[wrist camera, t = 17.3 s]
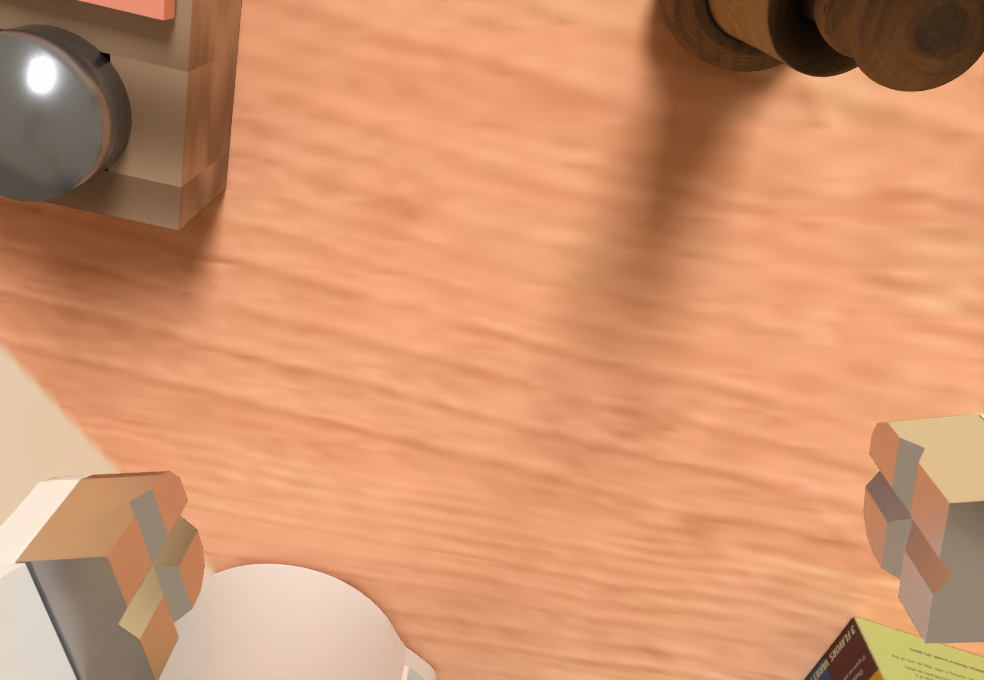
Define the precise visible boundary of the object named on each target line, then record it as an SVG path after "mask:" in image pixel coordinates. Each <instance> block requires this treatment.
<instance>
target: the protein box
mask: <svg viewBox="0 0 984 680" xmlns="http://www.w3.org/2000/svg"><path fill="white" fill-rule="evenodd" d="M806 680H984V657H981V656H977V655H974V654H971V653H968V652H965V651H962V650H958V649H955V648H952V647H949V646H946V645H943V644H940V643H925V642H924V641H923V639H922V638H921V637H918V636H915V635H911V634H908V633H905V632H902V631H899V630H896V629H893V628H889V627H886V626H883V625H880V624H877V623H874V622H871V621H868V620H864V619H861V618H858V617H854V618H853V620H852V621H851V622H850V624H849V625H848V627H847V628H846V629H845V630H844V632H843V633H842V634H841V635H840V637H839V638H838V639H837V641H836V642H835V643H834V644H833V646H832V647H831V648H830V650H829V651H828V652H827V654H826V655H825V656H824V657H823V658H822V660H821V661H820V662H819V663H818V665H817V666H816V667H815V669H814V670H813V671H812V673H811V674H810V675H809V676H808V678H807V679H806Z"/></svg>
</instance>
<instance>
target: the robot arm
mask: <svg viewBox="0 0 984 680" xmlns="http://www.w3.org/2000/svg"><path fill="white" fill-rule="evenodd" d="M869 454H870V456H871V457H872V459H873V460H874V462H875V464H876V465H877V467H878V468H879V470H880V471H879V472H878V474H877V475H876V476H875V477H874V478H873V479H872V480H871V481H870V482H869V483H868V484H867V485H866V487H865V498H864V519H865V526H866V533H867V537H868V540H869V543H870V546H871V549H872V551H873V553H874V555H875V557H876V559H877V561H878V563H879V564H880V566H881V568H882V569H884V570H886V571H887V572H889V573H891V574H892V575H894V576H896V577H897V578H899V579H901V581H900V588H899V595H898V598H899V599H900V601H901V603H902V605H903V606H904V608H905V610H906V611H907V613H908V615H909V617H910V618H911V620H912V622H913V623H914V625H915V627H916V629H917V630H918V632H919V634H920V635H921V637H922V639H923V641H924V642H925V643H961V642H984V412H983V413H973V414H969V415H958V416H947V417H936V418H925V419H914V420H903V421H892V422H881V423H877V424H876V427H875V429H874V431H873V434H872V438H871V445H870V453H869ZM187 501H188V499H187V496H186V493H185V491H184V488H183V485H182V483H181V480H180V477H178V476H177V475H175V474H174V473H172V472H171V471H161V472H141V473H120V474H100V475H91V476H87V475H79V476H67V477H55V478H50V479H47V480H43V481H41V482H39V484H38V485H37V486H36V487H35V488H34V489H33V490H32V492H31V493H30V494H29V495H28V496H27V497H26V498H25V500H24V501H23V502H22V503H21V504H20V505H19V506H18V508H17V509H16V510H15V511H14V512H13V513H12V515H11V516H10V517H9V518H8V519H7V520H6V521H5V522H4V524H3V525H2V526H1V527H0V680H437V675H436V672H435V671H434V669H433V668H432V667H431V666H430V665H429V664H428V663H427V662H425V661H424V660H423V659H422V658H420V657H419V656H418V655H416V654H415V653H414V652H412V651H411V650H409V649H408V648H407V647H406V646H405V645H404V644H403V642H402V641H401V639H400V638H399V636H398V635H397V633H396V631H395V629H394V628H393V626H392V624H391V623H390V621H389V620H388V618H387V617H386V616H385V614H384V613H383V612H382V611H381V610H380V609H379V608H378V607H377V606H376V605H375V604H374V603H373V602H372V601H371V600H370V599H369V598H367V597H366V596H365V595H364V594H362V593H361V592H359V591H358V590H357V589H355V588H353V587H352V586H350V585H348V584H346V583H344V582H343V581H341V580H338V579H336V578H334V577H332V576H329V575H327V574H324V573H321V572H318V571H315V570H311V569H307V568H303V567H298V566H291V565H283V564H252V565H244V566H239V567H234V568H230V569H227V570H224V571H221V572H218V573H216V574H213V575H211V576H209V577H207V578H205V579H203V574H204V567H205V564H204V554H203V546H202V543H201V539H200V536H199V533H198V530H197V529H196V528H194V527H193V526H192V525H191V524H190V523H188V522H187V521H186V520H185V519H184V518H182V517H181V516H180V515H181V513H182V511H183V509H184V507H185V505H186V503H187Z"/></svg>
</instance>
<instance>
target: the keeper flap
mask: <svg viewBox="0 0 984 680" xmlns="http://www.w3.org/2000/svg"><path fill="white" fill-rule="evenodd" d="M79 1H83V2H87V3H92V4H96V5H100V6H104V7H109V8H113V9H117V10H121V11H126V12H130V13H134V14H138V15H143V16H147V17H151V18H155V19H160V20H168V19H173V18H174V15H175V0H79Z"/></svg>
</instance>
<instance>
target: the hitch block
mask: <svg viewBox="0 0 984 680" xmlns="http://www.w3.org/2000/svg"><path fill="white" fill-rule="evenodd" d="M241 3H242V0H175V15H174V18H173V19H168V20H160V19H155V18H151V17H147V16H143V15H138V14H134V13H130V12H126V11H121V10H117V9H113V8H109V7H104V6H100V5H96V4H92V3H87V2H83V1H79V0H0V30H4V29H9V28H14V27H19V26H25V25H34V24H40V25H50V26H55V27H59V28H62V29H65V30H68V31H70V32H72V33H75V34H77V35H78V36H80V37H82V38H83V39H85V40H87V41H88V42H89V43H91V44H92V45H93V46H95V47H96V48H97V49H98V50H99V51H100V52H103V53H108V54H110V63H111V64H112V65H113V67H114V68H115V70H116V71H117V73H118V74H119V76H120V78H121V80H122V82H123V84H124V86H125V89H126V91H127V94H128V97H129V101H130V106H131V113H132V125H131V133H130V137H129V140H128V143H127V145H126V148H125V150H124V151H123V153H122V154H121V156H120V157H119V158H118V160H117V161H116V162H115V163H114V164H113V165H111V166H110V167H109V168H108V169H106V170H104V171H103V172H101V173H99V174H97V175H96V176H94V177H92V178H91V179H89V180H87V181H85V182H84V183H82V184H80V185H79V186H77V187H75V188H73V189H72V190H70V191H68V192H67V193H65V194H63V195H61V196H58V197H56V198H53V199H49V200H44V201H45V202H49V203H54V204H58V205H63V206H68V207H72V208H77V209H81V210H86V211H91V212H95V213H100V214H104V215H109V216H114V217H118V218H123V219H127V220H132V221H137V222H141V223H146V224H150V225H155V226H160V227H164V228H169V229H173V230H178V231H179V230H180V229H181V228H182V227H183V226H184V225H185V224H187V223H188V222H189V221H190V220H191V219H192V218H193V217H194V216H196V215H197V214H198V213H199V212H200V211H201V210H202V209H203V208H205V207H206V206H207V205H208V204H209V203H210V202H211V201H212V200H213V199H215V198H216V197H217V196H218V195H219V194H220V193H221V192H222V191H224V190H225V189H226V181H227V170H228V158H229V146H230V134H231V122H232V110H233V98H234V86H235V74H236V63H237V51H238V39H239V27H240V15H241Z"/></svg>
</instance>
